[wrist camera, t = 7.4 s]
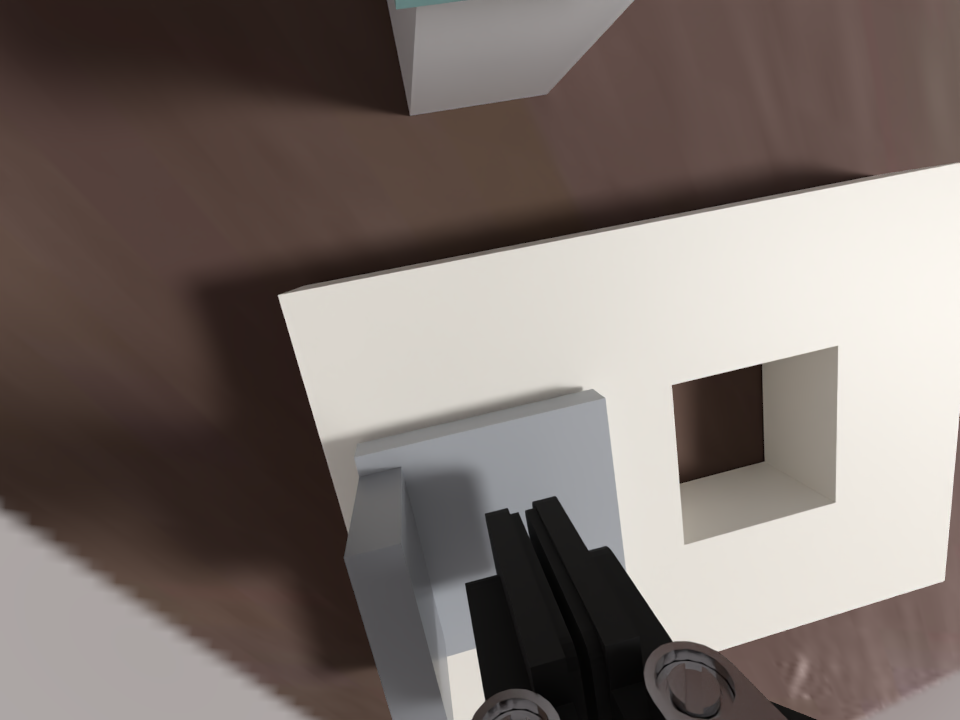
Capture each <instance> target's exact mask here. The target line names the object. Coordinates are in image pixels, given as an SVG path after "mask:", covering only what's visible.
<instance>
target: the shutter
mask: <svg viewBox="0 0 960 720" xmlns="http://www.w3.org/2000/svg"><path fill="white" fill-rule="evenodd" d="M354 460H355V463H356V467H357V471H358V474H359V481H358V486H357V491H356V496H355V502H354V507H353V512H352V517H351V523H350V528H349V533H348V538H347V544H346V549H345V554H344V561H345V564H346V567H347V571H348V574H349V577H350V580H351V584H352V587H353V590H354V594H355V597H356V600H357V604H358V607H359V610H360V614H361V617H362V620H363V624H364V627H365V630H366V633H367V637H368V640H369V643H370V647H371V650H372V653H373V657H374V660H375V663H376V667H377V670H378V673H379V676H380V680H381V683H382V686H383V690H384V693H385V696H386V700H387V703H388V706H389V710H390V713H391V716H392V720H454V718H453V709H452V700H451V691H450V682H449V673H448V664H447V657H448V656H451V655H455V654H458V653H461V652H465V651H468V650H472V649H475V648H476V645H475V639H474V634H473V628H472V622H471V616H470V611H469V605H468V599H467V593H466V587H465V583H467V582H471V581H475V580H479V579H483V578H486V577H490V576H494V575H497V574H496V569H495V564H494V559H493V554H492V549H491V544H490V539H489V534H488V529H487V524H486V519H485V513H489V512H493V511H497V510H501V509H505V508H508V509H509V512H510V514H512V513H516V512H519V514H520V517H521V519H522V521H523V524H524V526H525V529H526V531H527V533H528V527H527V521H526V516H525V510H528V509H532V502H533V501H537V500H541V499H545V498H549V497H553V496H556V497H557V498H558V500H559V502H560V503H561V505H562V507H563V508H564V510H565V512H566V513H567V515H568V517H569V518H570V520H571V522H572V524H573V525H574V527H575V529H576V530H577V532H578V534H579V535H580V537H581V539H582V540H583V542H584V544H585V545H586V547H587V549H588V550H592V549H596V548H600V547H603V546H607V547H609V548H610V549H611V550H612V552H613V553H614V555H615V556H616V558H617V559H618V561H619V562H620V563H621V565H622V566H623V568H624V569H625V571H626V566H625V558H624V549H623V541H622V532H621V524H620V516H619V507H618V499H617V491H616V482H615V474H614V466H613V457H612V449H611V440H610V432H609V424H608V415H607V407H606V399H605V397H603V396H602V395H601V394H599V393H598V392H596V391H595V390H594V389H590V390H585V391H581V392H577V393H572V394H568V395H564V396H560V397H555V398H551V399H547V400H542V401H538V402H534V403H530V404H525V405H521V406H517V407H513V408H508V409H504V410H500V411H495V412H491V413H487V414H483V415H478V416H474V417H470V418H465V419H461V420H457V421H453V422H448V423H444V424H440V425H436V426H431V427H427V428H423V429H418V430H414V431H410V432H406V433H401V434H397V435H393V436H388V437H384V438H380V439H376V440H371V441H367V442H363V443H359V444H357V447H356V451H355V455H354ZM528 536H529V533H528Z"/></svg>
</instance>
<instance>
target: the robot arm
mask: <svg viewBox="0 0 960 720" xmlns="http://www.w3.org/2000/svg"><path fill="white" fill-rule="evenodd" d="M525 516H526V521H527V527H528V533H529V536H528V533H527V531H526V529H525V526H524V524H523V521H522V519H521V517H520V514H519V512H516V513H512V514H510V512H509V509H508V508H505V509H501V510H497V511H493V512H489V513H485V519H486V524H487V529H488V534H489V539H490V544H491V549H492V554H493V559H494V564H495V569H496V574H497V575H494V576H490V577H486V578H483V579H479V580H475V581H471V582H467V583H465V587H466V593H467V599H468V605H469V611H470V616H471V622H472V628H473V634H474V639H475V645H476V651H477V657H478V663H479V668H480V674H481V680H482V686H483V692H484V697H485V702H484V703H483V704H482V705H481V706H480V707H479V709H478V710H477V711H476V712H475V714H474V716H473V718H472V720H816V719H814V718H811V717H809V716H806V715H804V714H801V713H799V712H796V711H794V710H791V709H789V708H786V707H783V706H781V705H778V704H776V703H773V702H771V701H769V700H768V699H767V698H766V697H765V696H764V695H763V694H762V693H761V692H760V691H759V690H758V689H757V688H756V687H755V686H754V685H753V684H752V683H751V682H750V681H749V680H748V679H747V678H746V677H745V676H744V675H743V674H742V673H741V672H740V671H739V670H738V669H737V668H736V667H735V665H734V664H733V663H732V662H730V661H729V660H728V659H727V658H725V657H724V656H723V655H722V654H720V653H719V652H717V651H715V650H713V649H711V648H709V647H707V646H705V645H703V644H698V643H694V642H690V641H674V642H673V641H672V639H671V638H670V636H669V635H668V633H667V632H666V630H665V629H664V628H663V626H662V625H661V623H660V622H659V620H658V619H657V617H656V616H655V614H654V613H653V611H652V610H651V608H650V607H649V605H648V604H647V602H646V601H645V599H644V598H643V596H642V595H641V593H640V592H639V590H638V589H637V587H636V586H635V584H634V583H633V581H632V580H631V578H630V577H629V575H628V574H627V572H626V571H625V569H624V568H623V566H622V565H621V563H620V562H619V561H618V559H617V558H616V556H615V555H614V553H613V552H612V550H611V549H610V548H609V547H607V546H603V547H600V548H596V549H592V550H588V549H587V547H586V545H585V544H584V542H583V540H582V539H581V537H580V535H579V534H578V532H577V530H576V529H575V527H574V525H573V524H572V522H571V520H570V518H569V517H568V515H567V513H566V512H565V510H564V508H563V507H562V505H561V503H560V502H559V500H558V498H557V497H556V496H553V497H549V498H545V499H541V500H537V501H533V502H532V509H528V510H525Z"/></svg>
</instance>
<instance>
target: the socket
mask: <svg viewBox="0 0 960 720" xmlns="http://www.w3.org/2000/svg"><path fill="white" fill-rule="evenodd" d="M278 297H279V301H280V304H281V308H282V311H283V314H284V318H285V321H286V325H287V328H288V331H289V335H290V338H291V342H292V345H293V348H294V352H295V355H296V359H297V362H298V365H299V369H300V372H301V375H302V379H303V382H304V386H305V389H306V392H307V396H308V399H309V403H310V406H311V409H312V413H313V416H314V420H315V423H316V426H317V430H318V433H319V437H320V440H321V443H322V447H323V450H324V454H325V457H326V460H327V464H328V467H329V471H330V474H331V477H332V481H333V484H334V488H335V491H336V494H337V498H338V501H339V505H340V508H341V511H342V515H343V518H344V521H345V525H346V528H347V532H348V533H349V528H350V523H351V517H352V512H353V507H354V502H355V496H356V491H357V486H358V481H359V474H358V471H357V467H356V463H355V460H354V455H355V451H356V447H357V444H359V443H363V442H367V441H371V440H376V439H380V438H384V437H388V436H393V435H397V434H401V433H406V432H410V431H414V430H418V429H423V428H427V427H431V426H436V425H440V424H444V423H448V422H453V421H457V420H461V419H465V418H470V417H474V416H478V415H483V414H487V413H491V412H495V411H500V410H504V409H508V408H513V407H517V406H521V405H525V404H530V403H534V402H538V401H542V400H547V399H551V398H555V397H560V396H564V395H568V394H572V393H577V392H581V391H585V390H590V389H594V390H595V391H596V392H598V393H599V394H601V395H602V396H603V397H605V399H606V407H607V415H608V424H609V432H610V440H611V449H612V457H613V466H614V474H615V482H616V491H617V499H618V507H619V516H620V524H621V532H622V541H623V549H624V558H625V566H626V572H627V574H628V575H629V577H630V578H631V580H632V581H633V583H634V584H635V586H636V587H637V589H638V590H639V592H640V593H641V595H642V596H643V598H644V599H645V601H646V602H647V604H648V605H649V607H650V608H651V610H652V611H653V613H654V614H655V616H656V617H657V619H658V620H659V622H660V623H661V625H662V626H663V628H664V629H665V630H666V632H667V633H668V635H669V636H670V638H671V639H672V641H673V642H674V641H690V642H694V643H698V644H703V645H705V646H707V647H709V648H711V649H713V650H715V651H721V650H724V649H727V648H730V647H733V646H737V645H740V644H743V643H746V642H749V641H753V640H756V639H759V638H762V637H766V636H769V635H772V634H775V633H778V632H782V631H785V630H788V629H791V628H795V627H798V626H801V625H804V624H807V623H811V622H814V621H817V620H820V619H823V618H827V617H830V616H833V615H836V614H840V613H843V612H846V611H849V610H852V609H856V608H859V607H862V606H865V605H868V604H872V603H875V602H878V601H881V600H885V599H888V598H891V597H894V596H897V595H901V594H904V593H907V592H910V591H913V590H917V589H920V588H923V587H926V586H930V585H933V584H936V583H939V582H942V581H945V569H946V558H947V547H948V536H949V525H950V514H951V502H952V491H953V480H954V469H955V458H956V447H957V436H958V424H959V413H960V162H957V163H950V164H944V165H938V166H931V167H925V168H919V169H913V170H906V171H900V172H894V173H887V174H881V175H875V176H870V177H865V178H859V179H854V180H849V181H844V182H839V183H834V184H828V185H823V186H818V187H813V188H808V189H802V190H797V191H792V192H787V193H782V194H777V195H771V196H766V197H761V198H756V199H751V200H745V201H740V202H735V203H730V204H725V205H720V206H714V207H709V208H704V209H699V210H694V211H689V212H683V213H678V214H673V215H668V216H663V217H657V218H652V219H647V220H642V221H637V222H632V223H626V224H621V225H616V226H611V227H606V228H600V229H595V230H590V231H585V232H580V233H575V234H569V235H564V236H559V237H554V238H549V239H544V240H538V241H533V242H528V243H523V244H518V245H512V246H507V247H502V248H497V249H492V250H487V251H481V252H476V253H471V254H466V255H461V256H455V257H450V258H445V259H440V260H435V261H430V262H424V263H419V264H414V265H409V266H404V267H399V268H393V269H388V270H383V271H378V272H373V273H367V274H362V275H357V276H352V277H347V278H342V279H336V280H331V281H326V282H321V283H316V284H311V285H305V286H302V287H299V288H297V289H294V290H291V291H288V292H285V293H283V294H280V295H278ZM758 364H762V383H763V420H764V457H765V461H764V462H761V463H757V464H753V465H749V466H745V467H742V468H738V469H734V470H730V471H726V472H723V473H719V474H715V475H711V476H707V477H704V478H700V479H696V480H692V481H689V482H685V483H681V484H679V471H678V459H677V446H676V434H675V421H674V409H673V396H672V385H674V384H678V383H682V382H686V381H691V380H695V379H699V378H703V377H707V376H712V375H716V374H720V373H724V372H729V371H733V370H737V369H741V368H745V367H750V366H754V365H758ZM447 664H448V673H449V682H450V691H451V700H452V709H453V718H454V720H472V718H473V716H474V714H475V712H476V711H477V710H478V709H479V707H480V706H481V705H482V704H483V703H484V702H485V697H484V692H483V686H482V680H481V674H480V668H479V663H478V657H477V651H476V648H475V649H472V650H468V651H465V652H461V653H458V654H455V655H451V656H448V657H447Z"/></svg>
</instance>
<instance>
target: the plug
mask: <svg viewBox="0 0 960 720" xmlns="http://www.w3.org/2000/svg"><path fill="white" fill-rule="evenodd" d="M633 1H634V0H387V4H388V9H389V13H390V18H391V23H392V28H393V33H394V38H395V43H396V48H397V53H398V58H399V63H400V68H401V73H402V78H403V83H404V88H405V93H406V98H407V103H408V108H409V113H410V116H412V115H418V114H425V113H431V112H438V111H444V110H450V109H457V108H463V107H470V106H476V105H482V104H489V103H495V102H502V101H508V100H514V99H521V98H527V97H533V96H540V95H546V94H547V93H548V92H549V91H550V90H551V89H552V88H553V87H554V86H555V85H556V84H557V83H558V82H559V81H560V80H561V78H562V77H563V76H564V75H565V74H566V73H567V72H568V71H569V70H570V69H571V68H572V67H573V66H574V64H575V63H576V62H577V61H578V60H579V59H580V58H581V57H582V56H583V55H584V54H585V53H586V52H587V50H588V49H589V48H590V47H591V46H592V45H593V44H594V43H595V42H596V41H597V40H598V39H599V38H600V36H601V35H602V34H603V33H604V32H605V31H606V30H607V29H608V28H609V27H610V26H611V25H612V24H613V23H614V21H615V20H616V19H617V18H618V17H619V16H620V15H621V14H622V13H623V12H624V11H625V10H626V9H627V7H628V6H629V5H630V4H631V3H632V2H633Z"/></svg>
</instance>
